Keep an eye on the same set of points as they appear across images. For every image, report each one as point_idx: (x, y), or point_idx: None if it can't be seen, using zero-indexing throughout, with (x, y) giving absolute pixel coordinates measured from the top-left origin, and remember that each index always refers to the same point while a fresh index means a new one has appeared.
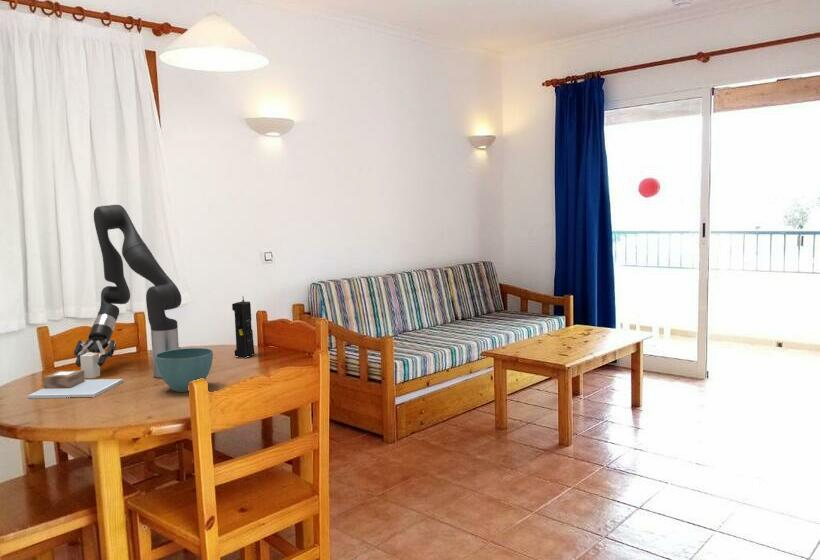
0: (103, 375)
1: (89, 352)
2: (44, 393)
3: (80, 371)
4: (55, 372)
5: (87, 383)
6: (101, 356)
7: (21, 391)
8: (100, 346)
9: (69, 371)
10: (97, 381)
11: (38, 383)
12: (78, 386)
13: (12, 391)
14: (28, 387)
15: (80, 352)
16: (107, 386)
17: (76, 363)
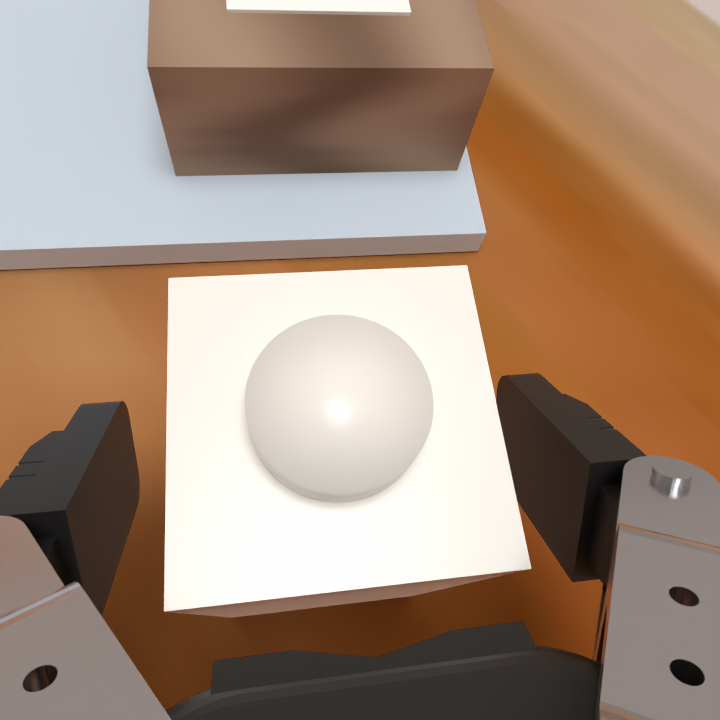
0: (184, 629)
1: (373, 451)
2: None
3: (159, 16)
4: (464, 2)
5: (94, 104)
6: (32, 487)
7: (611, 27)
8: (29, 707)
9: (317, 29)
10: (13, 169)
11: (716, 240)
12: (129, 19)
13: (684, 31)
14: (671, 122)
15: (683, 501)
16: None
17: (531, 375)
